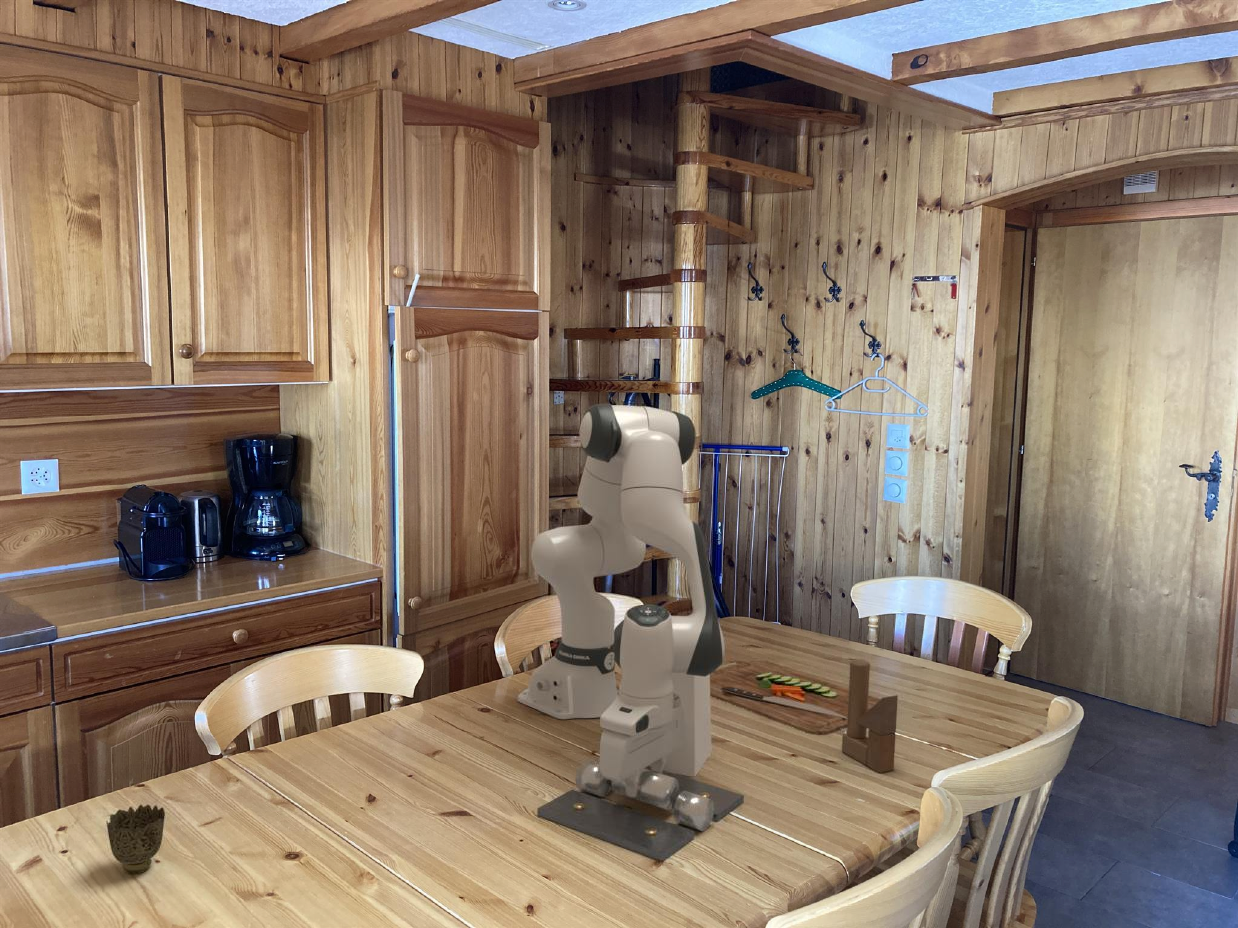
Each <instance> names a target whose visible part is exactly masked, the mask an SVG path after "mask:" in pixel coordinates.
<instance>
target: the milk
mask: <svg viewBox="0 0 1238 928" xmlns="http://www.w3.org/2000/svg"><path fill="white" fill-rule="evenodd" d="M671 678H672V683H673V688H674V690H673V693H676V694H677V695H678V696H679V698H680V699H681V707H682V708H683V711H684V717H685V741H684V744H683V746H681V747H680V748H678V749H676V750H675V751H673V752H671V753H669V754H668V755H667V758H666V763H665V765H664V768H663V771H667V772H670V773H673V774H677V775H680V776H687V777H691V778H692V777H694V778H696V776H697V774H698V773H699V772H700V770H701V769H702V768H703V766H704V765H705V763H706V762H707V761H708V758H709V757H710V756H711V754H712V718H711V716H712V714H711V696H710V674H709V675H707V676H706V677H703V676H695V675H688V674H686V673H672V675H671ZM649 766H650V767H652V764H650V765H649Z"/></svg>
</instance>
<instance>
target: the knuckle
mask: <svg viewBox="0 0 1238 928" xmlns="http://www.w3.org/2000/svg"><path fill="white" fill-rule="evenodd" d="M635 779H636V782H637V784H640V794H639V795H637V796H635V797H630V796H628V795H627V794H626V784H625V782H624V780H623V781H621V782H616V781H612V780H611V786H612V791H613V792H614V793H616V794H619V795H622V796H623V797H624V796H625V797H627V798H630V799H634V800H637V801H640V802H643V803H647V804H649V805H651V806H655V807H658V808H661V809H665V810H668V811H669V810H670V809H672V808H673V805H674V804H675V802H676V799H677V797H678V793H679V783H678V780H677V779H676V778H673V777H670V776H667V775H663V774H660V773H657V772H653V771H650V770H647V769H642V770H640V771H638V772H637V777H636V778H635Z"/></svg>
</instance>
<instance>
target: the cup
mask: <svg viewBox="0 0 1238 928" xmlns="http://www.w3.org/2000/svg"><path fill="white" fill-rule="evenodd" d="M165 816H166V812H165V809H164V807H162V806H161V807H160V808H158V805H157V804H155V805H153V807H151V805H149V804H146V805H142V804H140V805H138V807H137V808H135V810H134V808H133V807H132V806H129V808H128V811H127V810H125V809H120V808H119V809H118V810H117V811H116V812H115V814H114V813H113V814H110V817H109V822H108V820H106V822H105V823H106V828H107V834H108V835H107V836H108V841H109V846H110V851H111V852H112V855H113V857H114V858H115V859H116V861H118V862H119V863H122V864H123V865H122V868H123V870H124V872H125V873H127V872H128V873H127V874H130V873H136V874H140V873H139V872H141V873H143V872H142V871H144V870H146V869H147V870H148V869H149V868H150V867H151V865H152V863H153V859H152V858H153V857H155V856H156V854H157V853H158V852H159V851H160V849H161V845H162V840H163V836H164V825H165ZM147 870H146V871H147ZM144 872H145V871H144Z"/></svg>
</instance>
